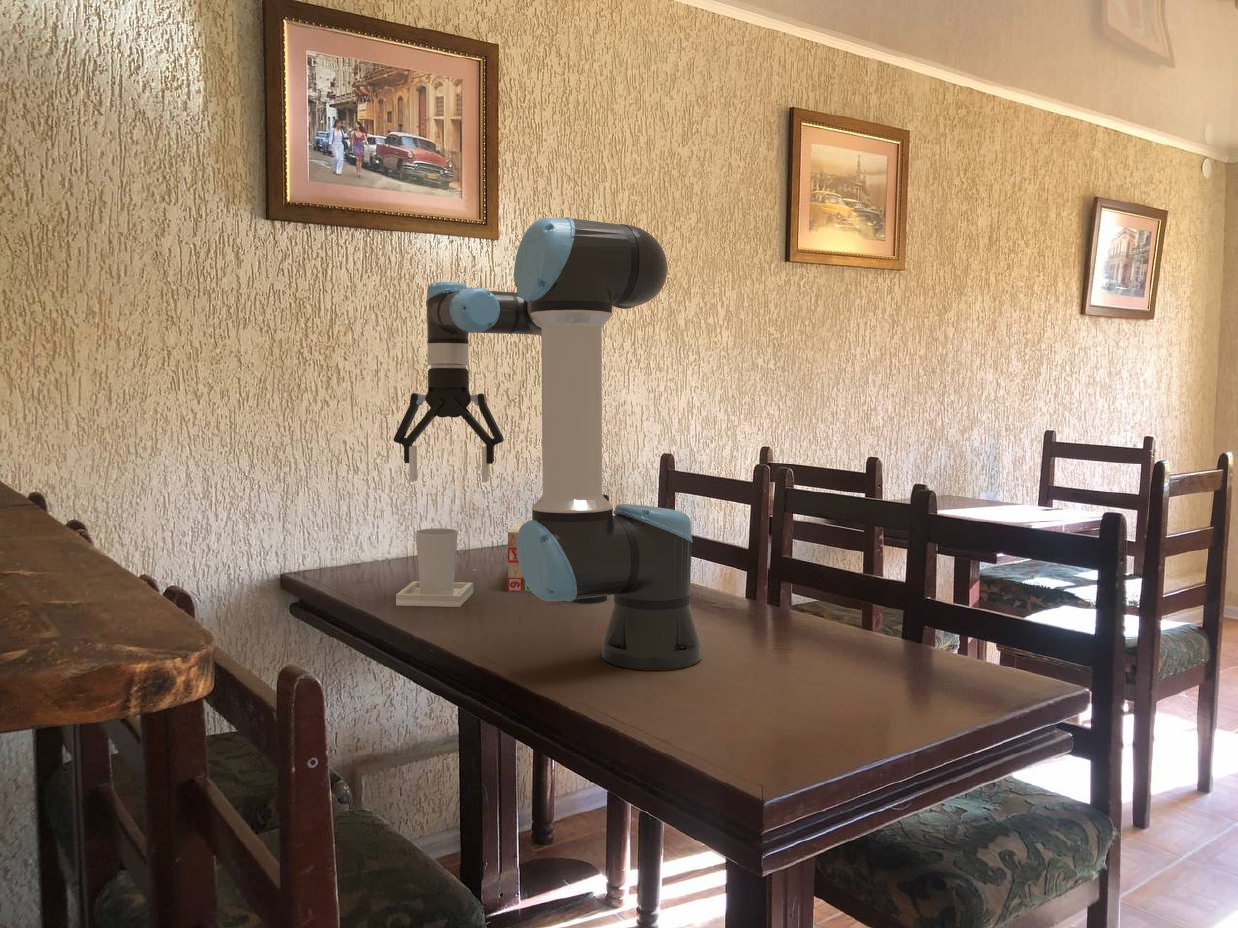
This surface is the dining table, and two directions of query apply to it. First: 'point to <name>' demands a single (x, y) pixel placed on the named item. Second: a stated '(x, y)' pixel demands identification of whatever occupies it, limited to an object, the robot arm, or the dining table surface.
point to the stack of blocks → (515, 562)
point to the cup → (436, 560)
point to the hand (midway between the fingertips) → (449, 481)
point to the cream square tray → (434, 596)
